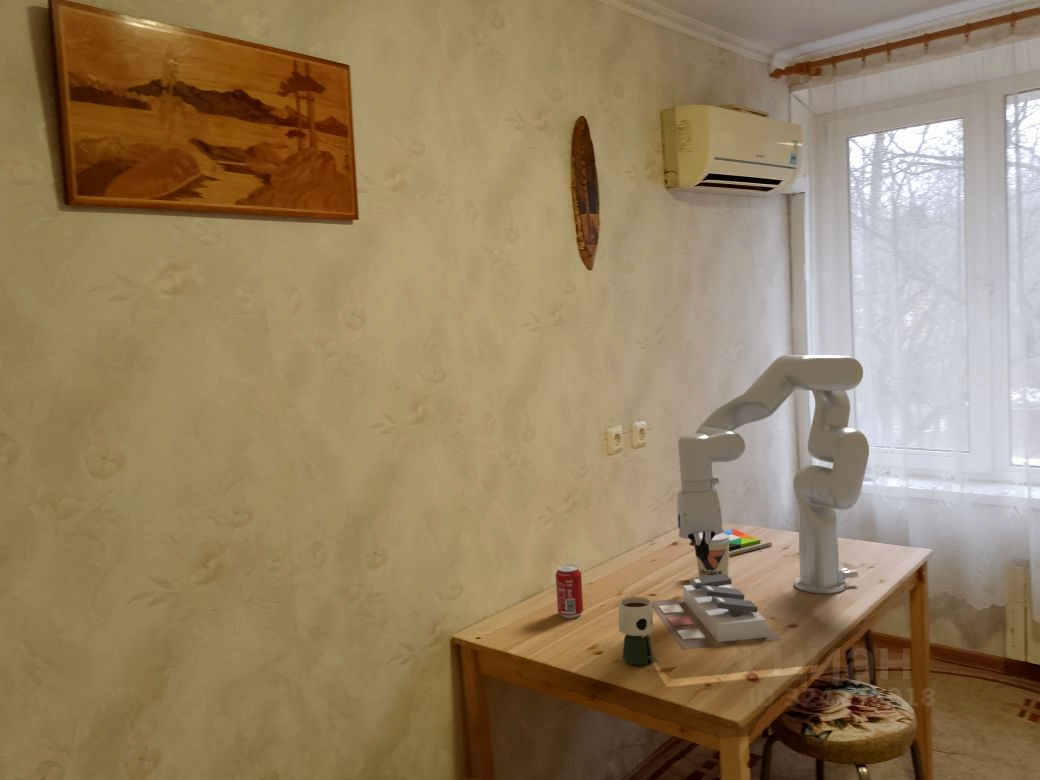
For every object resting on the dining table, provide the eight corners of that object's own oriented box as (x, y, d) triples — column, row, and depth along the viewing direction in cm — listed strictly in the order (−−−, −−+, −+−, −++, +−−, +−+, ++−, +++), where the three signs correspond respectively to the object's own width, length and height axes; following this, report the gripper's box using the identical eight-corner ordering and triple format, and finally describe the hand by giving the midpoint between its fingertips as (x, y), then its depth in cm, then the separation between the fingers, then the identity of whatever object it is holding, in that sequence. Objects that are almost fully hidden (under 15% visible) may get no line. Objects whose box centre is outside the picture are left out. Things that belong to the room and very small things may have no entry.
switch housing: (726, 597, 206) (726, 581, 206) (766, 637, 180) (766, 619, 180) (683, 601, 205) (683, 585, 205) (717, 641, 179) (717, 624, 179)
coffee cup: (693, 582, 222) (691, 539, 221) (699, 572, 230) (697, 530, 229) (728, 585, 218) (726, 541, 217) (733, 574, 227) (731, 531, 226)
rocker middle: (736, 600, 195) (737, 588, 195) (742, 606, 191) (744, 594, 190) (699, 595, 194) (701, 584, 194) (705, 602, 190) (707, 590, 190)
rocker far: (726, 584, 203) (725, 573, 203) (732, 590, 199) (731, 578, 198) (690, 589, 202) (689, 578, 202) (696, 595, 198) (694, 584, 198)
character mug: (635, 674, 169) (632, 613, 168) (608, 665, 174) (605, 605, 173) (667, 657, 176) (664, 598, 175) (640, 648, 181) (637, 591, 180)
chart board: (733, 598, 208) (733, 592, 208) (781, 645, 179) (781, 638, 179) (648, 606, 207) (648, 600, 207) (682, 654, 177) (682, 647, 177)
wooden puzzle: (730, 559, 242) (730, 547, 242) (688, 545, 259) (688, 534, 258) (774, 547, 250) (773, 536, 250) (730, 535, 267) (729, 524, 266)
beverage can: (586, 610, 206) (583, 564, 205) (579, 620, 200) (577, 572, 199) (562, 609, 208) (559, 563, 207) (554, 618, 202) (552, 571, 201)
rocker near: (748, 612, 187) (750, 600, 187) (755, 619, 183) (757, 606, 183) (710, 607, 186) (712, 595, 186) (716, 614, 182) (718, 602, 182)
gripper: (722, 478, 202) (727, 550, 204) (662, 485, 201) (668, 558, 203) (732, 485, 195) (738, 560, 197) (671, 492, 193) (677, 567, 195)
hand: (702, 558), depth 200 cm, fingers closed
